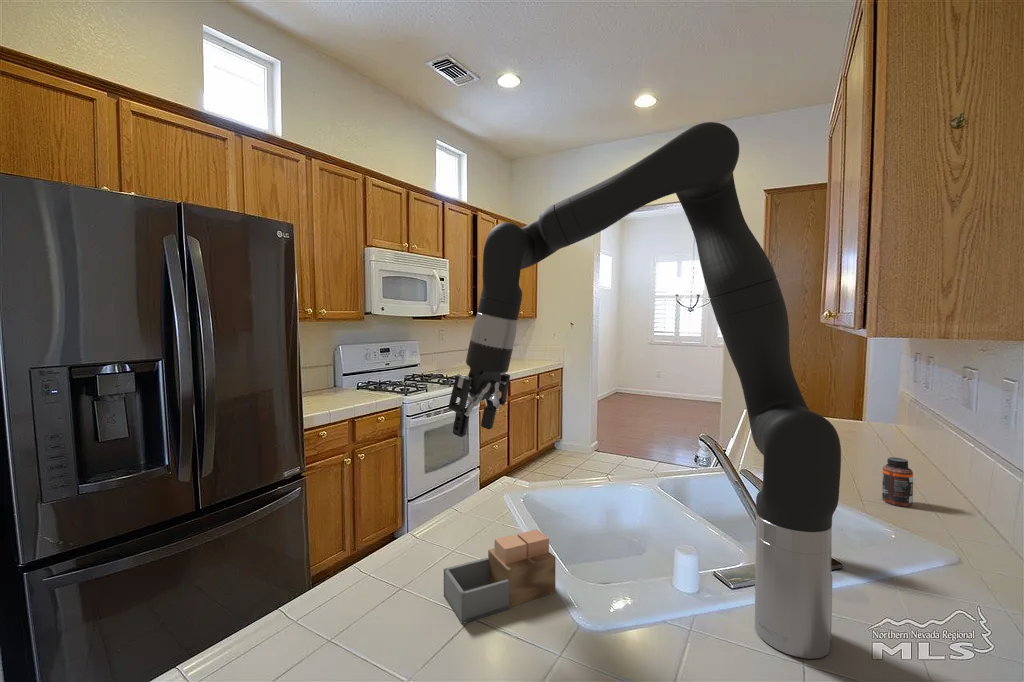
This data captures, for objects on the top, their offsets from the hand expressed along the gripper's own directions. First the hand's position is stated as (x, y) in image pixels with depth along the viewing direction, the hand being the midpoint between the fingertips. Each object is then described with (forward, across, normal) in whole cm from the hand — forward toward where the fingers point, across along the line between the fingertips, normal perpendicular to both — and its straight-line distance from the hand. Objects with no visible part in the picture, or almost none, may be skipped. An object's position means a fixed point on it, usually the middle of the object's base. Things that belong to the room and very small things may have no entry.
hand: (473, 431), depth 80 cm
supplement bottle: (+7, +84, -77) cm, 114 cm away
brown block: (+24, +3, -14) cm, 28 cm away
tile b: (+18, +1, -12) cm, 22 cm away
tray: (+25, -4, -10) cm, 27 cm away
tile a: (+18, +4, -14) cm, 23 cm away
